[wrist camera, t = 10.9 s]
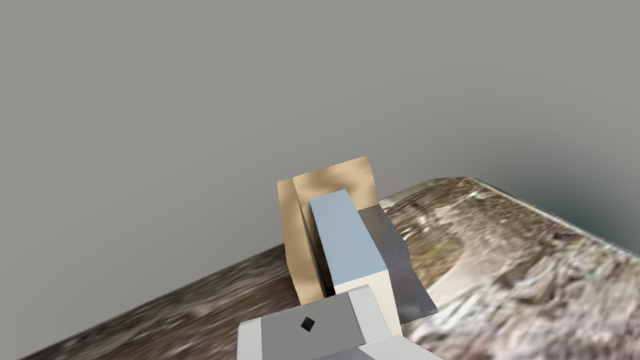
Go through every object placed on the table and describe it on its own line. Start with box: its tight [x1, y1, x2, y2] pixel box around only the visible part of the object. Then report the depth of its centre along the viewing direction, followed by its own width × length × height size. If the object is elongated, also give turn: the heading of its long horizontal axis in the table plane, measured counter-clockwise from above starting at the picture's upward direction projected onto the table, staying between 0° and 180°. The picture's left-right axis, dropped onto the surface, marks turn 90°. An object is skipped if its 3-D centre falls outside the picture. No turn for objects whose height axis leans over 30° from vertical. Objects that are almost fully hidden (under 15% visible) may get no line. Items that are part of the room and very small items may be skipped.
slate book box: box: [309, 189, 403, 336], centre depth 41 cm, size 5×16×14 cm, turn 8°
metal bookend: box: [357, 204, 438, 324], centre depth 46 cm, size 5×10×10 cm, turn 9°
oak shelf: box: [277, 156, 379, 305], centre depth 43 cm, size 12×18×16 cm, turn 9°
